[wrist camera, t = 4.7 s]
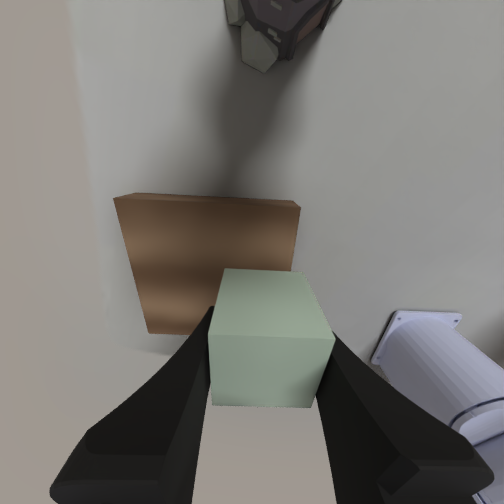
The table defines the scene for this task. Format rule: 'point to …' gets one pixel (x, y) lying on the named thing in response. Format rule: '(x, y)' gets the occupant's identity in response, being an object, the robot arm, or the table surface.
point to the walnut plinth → (199, 249)
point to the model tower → (275, 26)
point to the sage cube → (267, 340)
